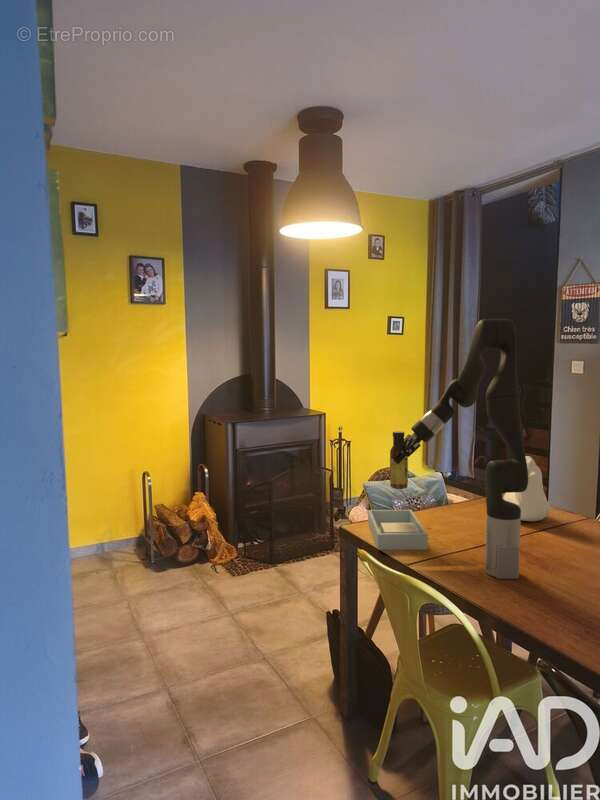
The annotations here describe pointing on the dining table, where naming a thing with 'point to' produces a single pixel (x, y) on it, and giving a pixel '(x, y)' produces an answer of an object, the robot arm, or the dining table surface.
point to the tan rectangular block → (398, 528)
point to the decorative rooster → (531, 495)
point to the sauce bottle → (399, 470)
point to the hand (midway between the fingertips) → (394, 460)
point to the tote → (396, 539)
